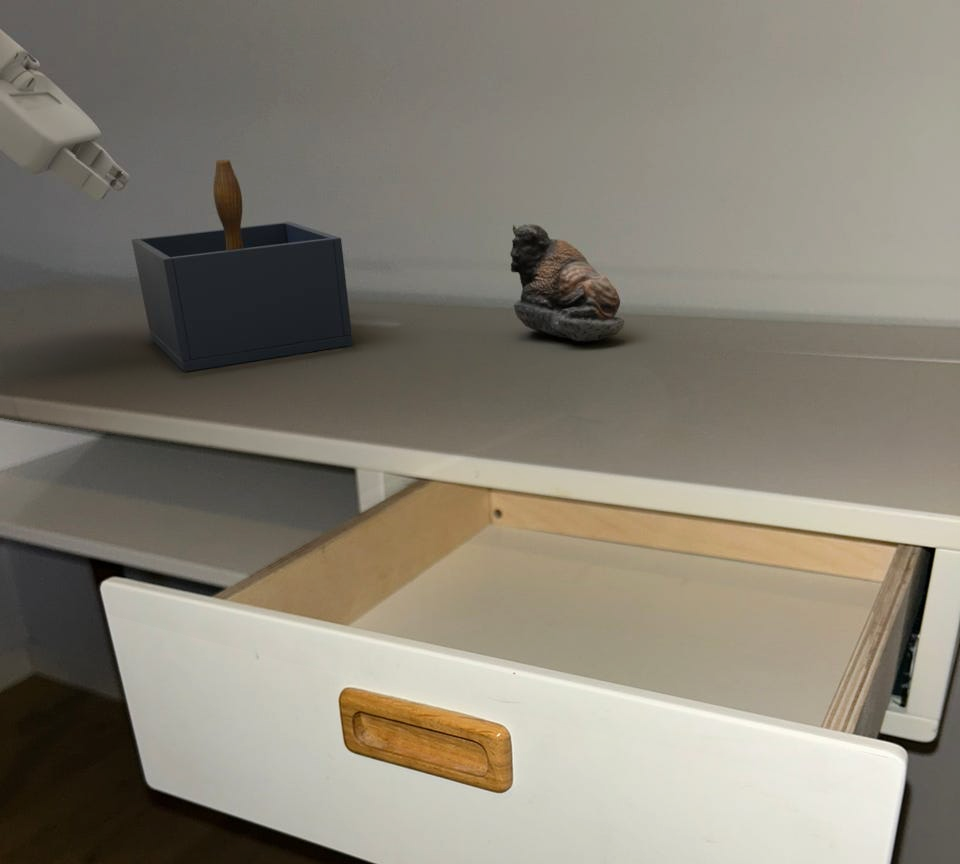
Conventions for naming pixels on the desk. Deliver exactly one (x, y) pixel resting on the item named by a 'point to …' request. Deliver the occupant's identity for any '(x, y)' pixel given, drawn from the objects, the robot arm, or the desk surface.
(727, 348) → the desk surface
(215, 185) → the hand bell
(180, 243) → the bin
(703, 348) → the desk surface
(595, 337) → the bison figurine
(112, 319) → the desk surface
